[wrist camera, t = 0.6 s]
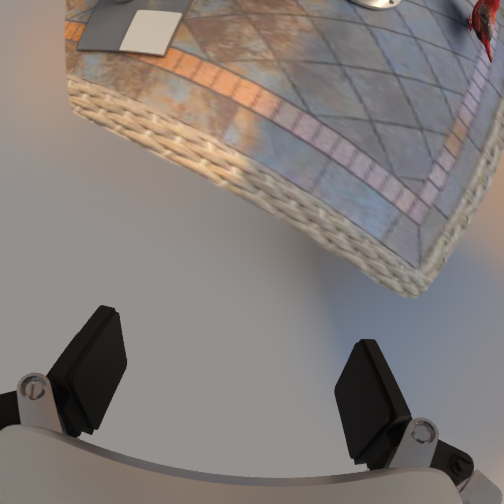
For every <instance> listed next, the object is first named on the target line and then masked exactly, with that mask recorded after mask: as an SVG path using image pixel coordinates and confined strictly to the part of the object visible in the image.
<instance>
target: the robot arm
mask: <svg viewBox="0 0 504 504" xmlns="http://www.w3.org/2000/svg"><path fill="white" fill-rule="evenodd" d="M351 1H352V2H354V3H356V4H358V5H361V6H364V7H366V8H370V9H375V10H388V9H392V8H394V7H395V6H397V5H398V4H399V3H400V2H401V0H351ZM126 367H127V358H126V352H125V347H124V342H123V335H122V330H121V323H120V316H119V313H118V312H116V310H115V308H112V307H108V306H104V305H101V306H99V308H98V309H97V310H96V311H95V313H94V314H93V315H92V316H91V317H90V319H89V320H88V321H87V323H86V324H85V325H84V326H83V328H82V329H81V330H80V332H79V333H78V334H77V335H76V336H75V337H74V338H73V340H72V341H71V342H70V344H69V345H68V346H67V347H66V349H65V350H64V352H63V353H62V354H61V356H60V357H59V358H58V360H57V361H56V363H55V364H54V365H53V367H52V368H51V370H50V371H49V373H48V374H47V375H46V376H44V375H43V374H40V373H30V374H27V375H25V376H24V377H22V378H21V380H20V381H19V382H18V385H17V390H16V391H12V392H8V393H4V394H0V504H501V501H502V493H501V491H500V489H499V488H498V487H497V486H496V485H494V484H493V483H492V482H491V481H490V480H489V479H488V478H487V477H486V476H484V475H483V474H482V473H481V472H480V471H479V470H478V469H477V470H475V471H474V464H473V460H472V458H471V457H470V456H469V455H468V454H467V453H465V452H463V451H461V450H459V449H457V448H455V447H453V446H451V445H449V444H447V443H445V442H443V441H441V440H439V439H438V437H439V433H438V429H437V427H436V425H434V423H433V422H432V421H430V420H428V419H426V418H415V419H412V417H411V413H410V411H409V409H408V406H407V404H406V402H405V399H404V397H403V395H402V393H401V391H400V389H399V387H398V385H397V382H396V380H395V378H394V376H393V374H392V372H391V370H390V368H389V366H388V364H387V362H386V360H385V358H384V356H383V354H382V352H381V350H380V348H379V346H378V344H377V342H376V341H375V340H374V339H361V340H360V341H359V342H358V343H356V344H355V345H354V348H353V350H352V352H351V354H350V357H349V359H348V361H347V363H346V365H345V367H344V369H343V371H342V374H341V376H340V378H339V380H338V382H337V384H336V386H335V390H334V392H335V397H336V402H337V406H338V409H339V413H340V417H341V422H342V425H343V429H344V434H345V438H346V442H347V447H348V451H349V455H350V457H351V458H352V459H354V462H355V465H357V464H364V463H366V464H367V468H368V469H367V470H366V471H365V472H358V473H351V474H342V475H332V476H321V477H305V478H304V477H303V478H259V477H240V476H229V475H219V474H211V473H203V472H197V471H191V470H185V469H180V468H174V467H170V466H165V465H160V464H156V463H152V462H148V461H144V460H140V459H136V458H133V457H130V456H126V455H123V454H120V453H117V452H113V451H110V450H107V449H104V448H101V447H98V446H95V445H93V444H90V443H87V442H84V441H82V440H80V438H79V436H80V435H81V432H85V433H87V434H90V435H92V434H93V431H94V429H95V430H97V429H98V428H99V427H100V424H101V422H102V420H103V417H104V415H105V413H106V410H107V408H108V406H109V404H110V402H111V400H112V397H113V395H114V393H115V391H116V389H117V386H118V384H119V382H120V380H121V378H122V375H123V374H124V372H125V370H126Z"/></svg>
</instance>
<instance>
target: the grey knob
mask: <svg viewBox="0 0 504 504" xmlns="http://www.w3.org/2000/svg"><path fill="white" fill-rule="evenodd" d="M112 1H114V2H115V3H116V4H127V3H130V2H132V1H133V0H112Z"/></svg>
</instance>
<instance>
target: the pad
mask: <svg viewBox="0 0 504 504" xmlns="http://www.w3.org/2000/svg"><path fill="white" fill-rule="evenodd" d="M181 16H182V14H181V13H176V12H166V11H152V10H138V11H137V13H136V15H135V16H134V18H133V20H132V22H131V25H130V27H129V29H128V31H127V33H126V35H125V37H124V40H123V42H122V44H121V46H120V49H119V50H121V51H130V52H140V53H148V54H156V55H164V52H165V50H166V48H167V45H168V43H169V41H170V39H171V37H172V34H173V32H174V30H175V28H176V26H177V24H178V22H179V20H180V18H181Z"/></svg>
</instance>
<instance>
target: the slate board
mask: <svg viewBox="0 0 504 504" xmlns="http://www.w3.org/2000/svg"><path fill="white" fill-rule="evenodd" d="M192 1H193V0H133V1H132V2H130V3H127V4H116V3H115V2H114V1H112V0H99V2H98V4H97V6H96V8H95V10H94V12H93V14H92V16H91V18H90V20H89V22H88V24H87V26H86V28H85V30H84V32H83V34H82V37H81V39H80V41H79V44H78V46H77V48H76V49H77V50H90V51H112V52H125V53H135V54H144V55H152V56H159V57H166V55H167V52H168V50H169V48H170V45H171V43H172V41H173V39H174V37H175V34H176V32H177V30H178V28H179V26H180V24H181V22H182V20H183V18H184V16H185V14H186V12H187V10H188V8H189V6H190V4H191V2H192ZM138 10H152V11H166V12H176V13H181V14H182V16H181V18H180V20H179V22H178V24H177V26H176V28H175V30H174V32H173V34H172V37H171V39H170V41H169V43H168V45H167V48H166V50H165V52H164V55H156V54H148V53H140V52H130V51H121V50H119V49H120V46H121V44H122V42H123V40H124V37H125V35H126V33H127V31H128V29H129V27H130V25H131V22H132V20H133V18H134V16H135V15H136V13H137V11H138Z"/></svg>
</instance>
